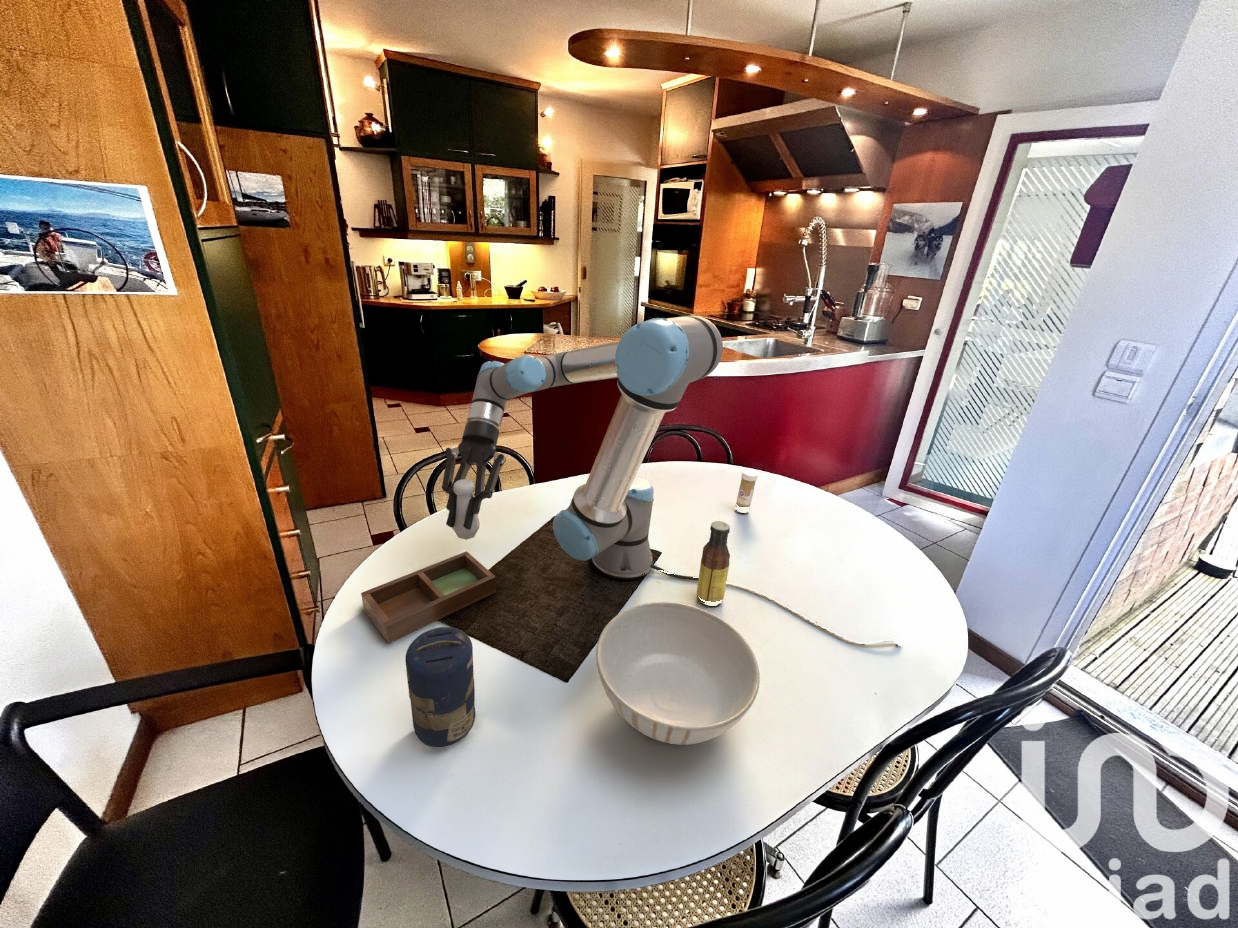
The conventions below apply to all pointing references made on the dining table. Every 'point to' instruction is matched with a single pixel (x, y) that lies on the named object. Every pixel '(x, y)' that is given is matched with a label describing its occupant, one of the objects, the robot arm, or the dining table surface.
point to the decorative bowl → (676, 671)
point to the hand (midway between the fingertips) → (458, 526)
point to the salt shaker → (464, 509)
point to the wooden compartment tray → (427, 595)
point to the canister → (441, 686)
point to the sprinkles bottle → (746, 488)
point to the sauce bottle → (714, 564)
